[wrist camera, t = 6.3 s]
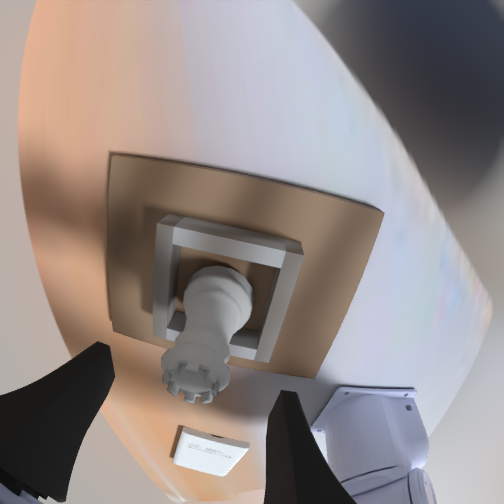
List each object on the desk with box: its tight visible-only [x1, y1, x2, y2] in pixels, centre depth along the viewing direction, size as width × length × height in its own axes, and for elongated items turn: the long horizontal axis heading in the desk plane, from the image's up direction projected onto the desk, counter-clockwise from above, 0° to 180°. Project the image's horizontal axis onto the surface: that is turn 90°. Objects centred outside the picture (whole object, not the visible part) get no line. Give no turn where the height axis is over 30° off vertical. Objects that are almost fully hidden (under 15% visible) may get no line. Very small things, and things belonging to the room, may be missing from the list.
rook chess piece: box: [161, 266, 255, 404], centre depth 14 cm, size 4×4×8 cm
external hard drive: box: [173, 426, 250, 476], centre depth 29 cm, size 2×8×12 cm
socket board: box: [107, 155, 385, 379], centre depth 17 cm, size 17×14×3 cm
